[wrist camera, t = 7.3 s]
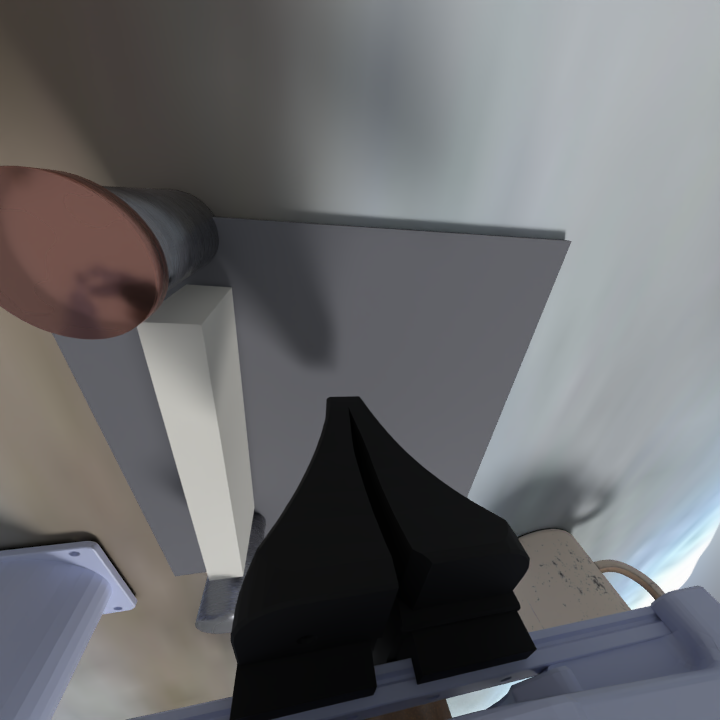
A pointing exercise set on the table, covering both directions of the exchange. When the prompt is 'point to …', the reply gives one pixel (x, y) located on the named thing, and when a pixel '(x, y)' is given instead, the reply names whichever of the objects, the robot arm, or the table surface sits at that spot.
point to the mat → (335, 354)
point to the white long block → (205, 417)
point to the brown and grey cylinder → (94, 250)
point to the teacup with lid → (569, 582)
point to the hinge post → (227, 589)
